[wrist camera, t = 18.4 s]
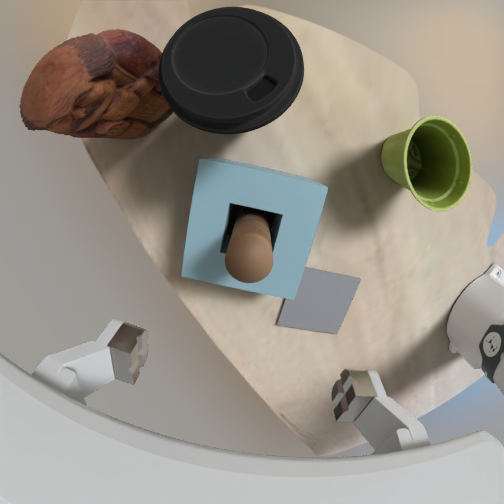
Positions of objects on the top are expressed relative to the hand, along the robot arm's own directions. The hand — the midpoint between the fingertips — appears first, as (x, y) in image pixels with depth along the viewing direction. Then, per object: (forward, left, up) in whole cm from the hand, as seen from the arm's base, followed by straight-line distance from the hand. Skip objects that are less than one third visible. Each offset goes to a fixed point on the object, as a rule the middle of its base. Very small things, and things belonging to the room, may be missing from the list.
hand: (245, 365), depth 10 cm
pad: (-11, +9, -23) cm, 27 cm away
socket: (0, 0, -23) cm, 23 cm away
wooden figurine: (+15, -11, -23) cm, 30 cm away
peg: (0, 0, -23) cm, 23 cm away
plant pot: (-16, -12, -23) cm, 30 cm away
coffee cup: (+4, -13, -23) cm, 27 cm away
